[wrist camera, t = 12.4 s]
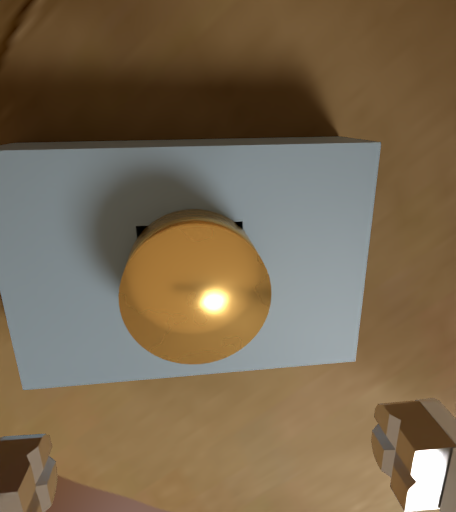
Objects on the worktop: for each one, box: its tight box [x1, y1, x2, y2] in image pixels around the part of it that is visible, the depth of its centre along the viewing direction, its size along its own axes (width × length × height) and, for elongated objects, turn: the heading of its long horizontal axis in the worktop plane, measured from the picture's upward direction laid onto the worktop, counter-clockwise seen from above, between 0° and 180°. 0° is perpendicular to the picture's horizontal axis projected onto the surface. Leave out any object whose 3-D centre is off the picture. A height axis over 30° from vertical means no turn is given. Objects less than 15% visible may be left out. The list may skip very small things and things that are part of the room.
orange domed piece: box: [118, 209, 272, 365], centre depth 20 cm, size 6×6×8 cm
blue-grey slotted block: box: [0, 136, 381, 390], centre depth 22 cm, size 12×18×5 cm, turn 91°
